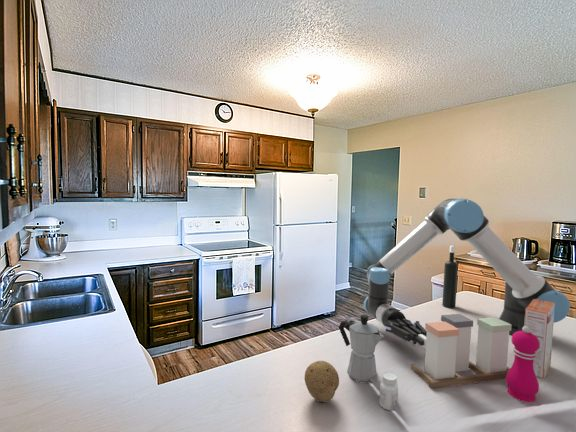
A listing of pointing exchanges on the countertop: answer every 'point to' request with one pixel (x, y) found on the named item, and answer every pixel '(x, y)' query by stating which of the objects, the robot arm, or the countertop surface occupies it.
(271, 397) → the countertop surface
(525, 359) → the pepper mill
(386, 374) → the pill bottle
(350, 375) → the coffee maker
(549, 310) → the cracker box
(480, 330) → the green lidded canister
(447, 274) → the wine bottle
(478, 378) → the wooden stand
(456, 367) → the gray lidded canister
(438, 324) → the orange lidded canister
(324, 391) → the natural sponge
